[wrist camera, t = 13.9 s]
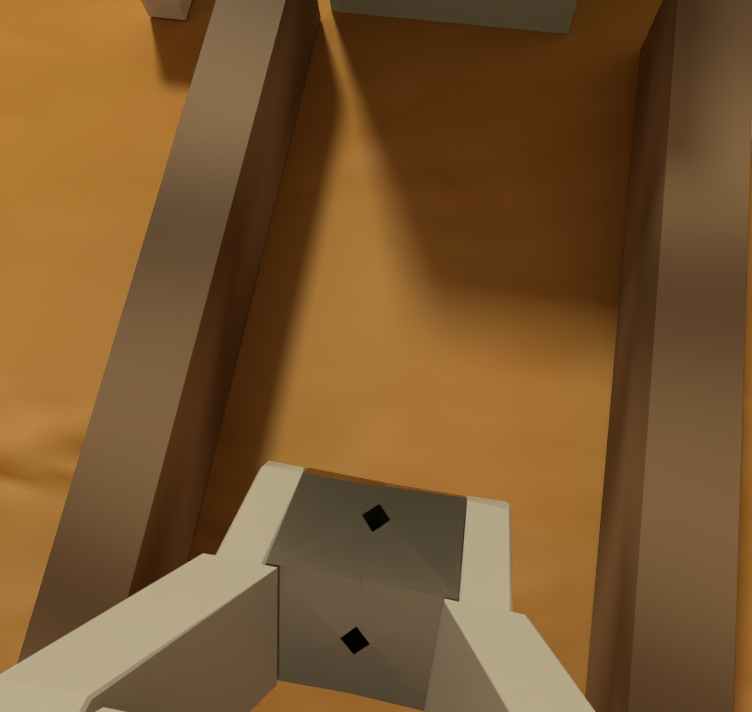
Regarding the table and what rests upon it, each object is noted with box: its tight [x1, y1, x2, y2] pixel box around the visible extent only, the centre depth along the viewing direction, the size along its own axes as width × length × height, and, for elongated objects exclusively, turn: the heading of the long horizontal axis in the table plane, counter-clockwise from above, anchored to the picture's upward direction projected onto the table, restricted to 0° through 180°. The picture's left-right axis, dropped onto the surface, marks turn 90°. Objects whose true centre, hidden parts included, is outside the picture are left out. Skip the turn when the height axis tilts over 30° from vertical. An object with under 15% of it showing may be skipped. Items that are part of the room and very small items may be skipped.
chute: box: [17, 0, 752, 712], centre depth 13 cm, size 16×11×2 cm
